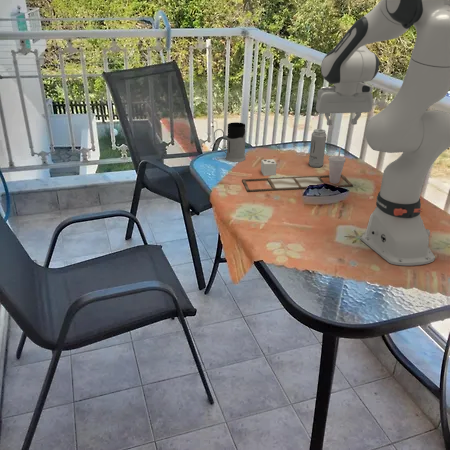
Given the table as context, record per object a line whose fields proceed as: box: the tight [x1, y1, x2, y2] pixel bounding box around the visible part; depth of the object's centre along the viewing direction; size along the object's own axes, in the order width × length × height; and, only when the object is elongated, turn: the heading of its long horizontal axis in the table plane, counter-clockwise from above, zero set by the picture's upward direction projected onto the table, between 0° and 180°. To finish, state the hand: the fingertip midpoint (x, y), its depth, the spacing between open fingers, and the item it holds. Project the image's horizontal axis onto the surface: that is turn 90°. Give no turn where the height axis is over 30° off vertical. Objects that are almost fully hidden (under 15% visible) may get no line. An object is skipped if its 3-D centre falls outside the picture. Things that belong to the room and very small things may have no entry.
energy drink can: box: [308, 128, 327, 168], centre depth 194 cm, size 6×6×15 cm
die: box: [260, 159, 278, 177], centre depth 188 cm, size 5×5×5 cm
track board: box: [241, 174, 354, 193], centre depth 180 cm, size 11×41×1 cm, turn 98°
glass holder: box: [213, 121, 247, 163], centre depth 200 cm, size 9×14×15 cm, turn 105°
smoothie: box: [327, 146, 346, 185], centre depth 179 cm, size 6×6×14 cm
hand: (341, 124), depth 171 cm, fingers open, 8 cm apart
